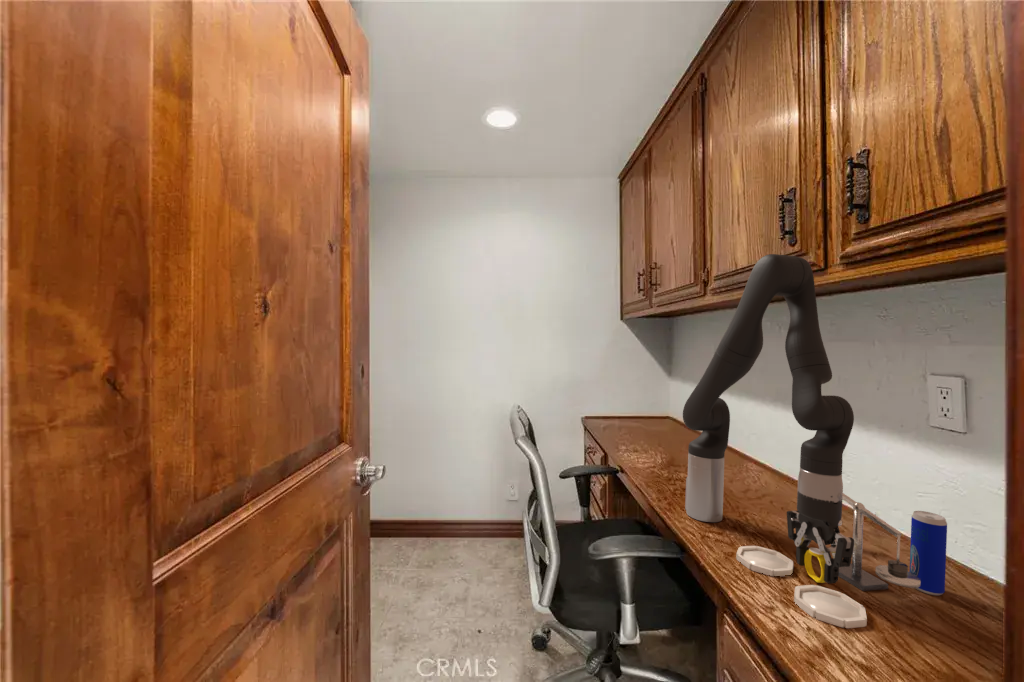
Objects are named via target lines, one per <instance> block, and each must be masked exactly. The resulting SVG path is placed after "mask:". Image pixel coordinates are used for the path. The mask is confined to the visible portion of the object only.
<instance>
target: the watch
mask: <svg viewBox="0 0 1024 682" xmlns="http://www.w3.org/2000/svg"><path fill="white" fill-rule="evenodd" d="M808 548H809V550H807V551H806V553H805V555H804V564H805V565H804V567H805V571H806V572H807V575H808V576H809V577H810V578H811V579H813V581H815V583H820V584H824V583H826V582H825V581H824V571H825V564H826V561H825V558H824V555H823V553H822V552H821V551H820V549H819V547H808ZM813 556H814V557H815V558H816V559H817V560H818V562H819V565H820V566H819V567H820V576H819V577H818V575H817V574H816V573H815V571H814V567H813V563H812V557H813Z"/></svg>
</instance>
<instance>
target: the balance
mask: <svg viewBox="0 0 1024 682" xmlns="http://www.w3.org/2000/svg"><path fill="white" fill-rule="evenodd" d="M842 501H844V502H845V503H847V504H848V505H850V506H851V507H852V509H853V522H852V523H853V526H852V538H853V539H854V548H853V553H852V558H851V564H850V566H849V567H839V577H838V578H840V579H842V580H844V581H845V582H847V583H849V584H850V585H852V586H853V587H856V588H857V589H859V590H860V591H862V592H869V591H880V590H888V589H889V583H891V584H894V585H896V586H900V587H903V588H909V589H915V588H918V587H920V585H921V580H920V579H919V578H918V577H917V576H916V575H914V574H912V573H910V571H908V570H909V569H908V568H909V566H908V564H906V563H904V562H903V561H900V553H901V550H900V549H901V537H902V534H903V533H902V532H901V531H899V530H898V529H897V528H895V527H893V526H892V525H890V524H889V523H888V522H886V521H885V520H883V519H882V518H880V517H878V516H877V515H876V514H874V513H873V512H871V511H870V510H868V509H867V508H866V506H865V505H864V504H863V503H862V502H859V501H858V502H857V501H856V500H854V499H853V498H851V497H850V496H848V495H847V494H845V493H844V492H843V498H842ZM864 516H865V517H867V518H868V519H870V520H871V521H873V522H874V523H876V524H877V525H878V526H880V528H881V527H882V528H883V530H885V531H886V532H888V533H889V534H891V535H892V536H893V537H895V538H897V539H896V540H897V541H896V560H895V559H888V560H887V564H883V565H882V564H880V565H877V566H875V575H876V576H878V577H876V576H874V575H873V574H871V573H869V572H867V570H864V569H862V568H863V545H864V543H863V542H864ZM842 522H843V519H841V520H840V521H839V523H838V527H840V526H842V524H843V523H842ZM887 582H888V583H887Z"/></svg>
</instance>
